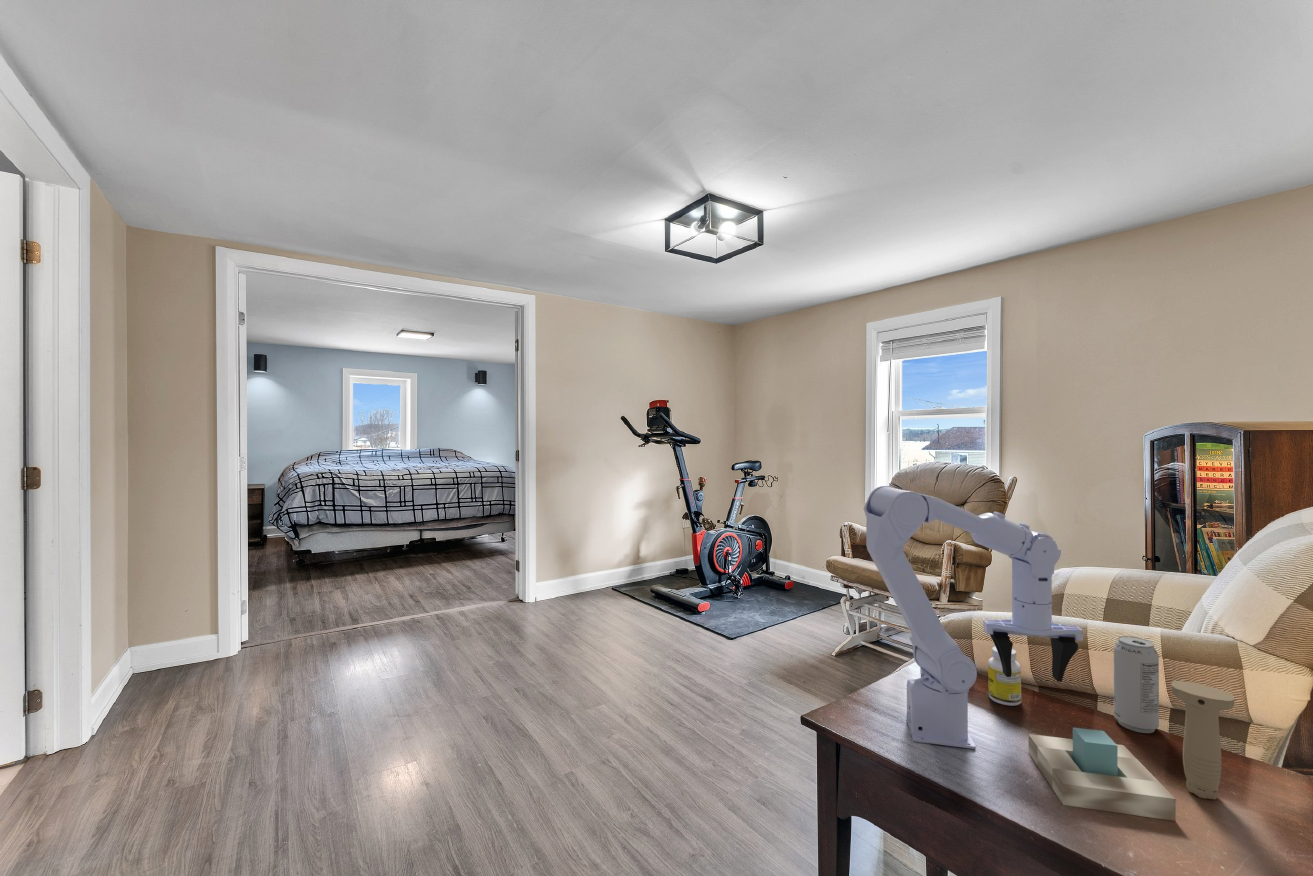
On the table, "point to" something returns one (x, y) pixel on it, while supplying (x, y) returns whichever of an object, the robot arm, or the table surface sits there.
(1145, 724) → the energy drink can
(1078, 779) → the socket block
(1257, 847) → the table surface
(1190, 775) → the handle
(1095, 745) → the peg
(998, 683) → the supplement bottle
